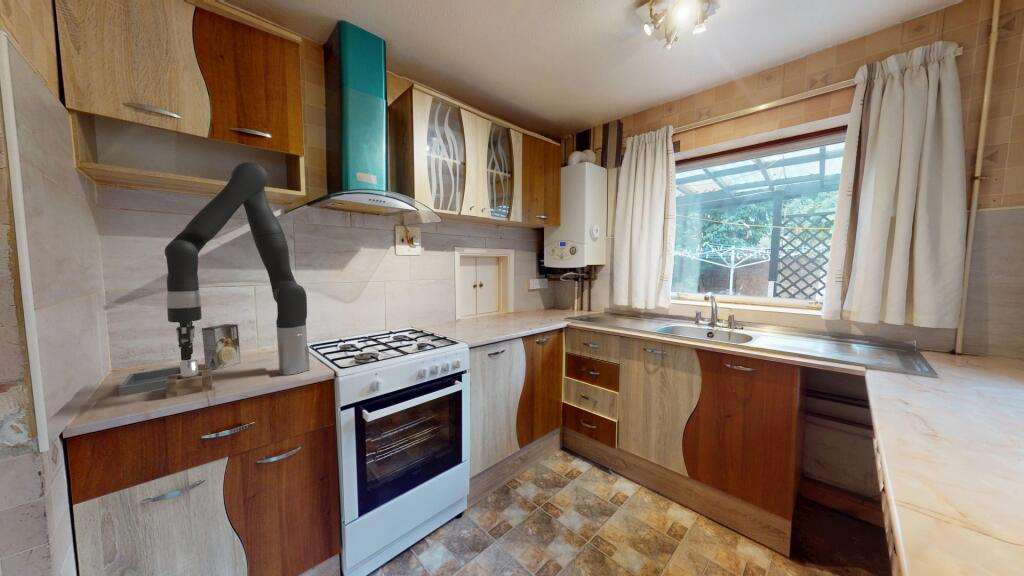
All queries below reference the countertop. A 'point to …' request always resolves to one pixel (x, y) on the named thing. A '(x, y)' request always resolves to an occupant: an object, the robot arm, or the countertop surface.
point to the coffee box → (221, 346)
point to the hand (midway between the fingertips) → (187, 357)
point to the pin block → (189, 384)
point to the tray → (146, 381)
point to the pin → (189, 369)
